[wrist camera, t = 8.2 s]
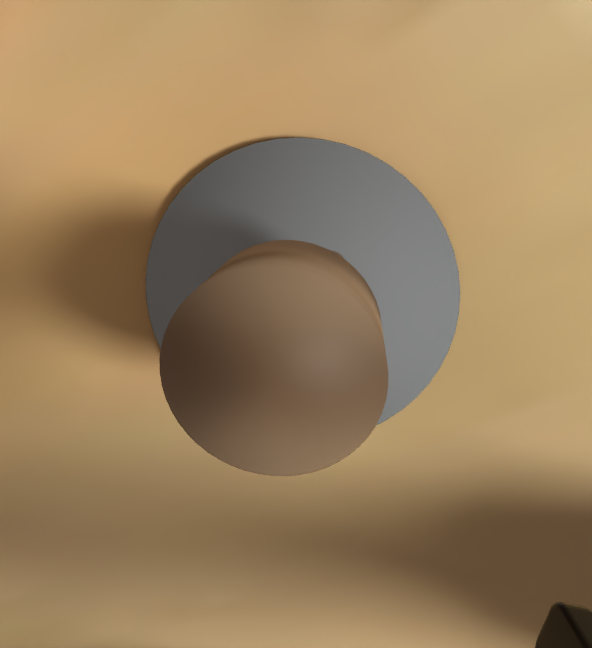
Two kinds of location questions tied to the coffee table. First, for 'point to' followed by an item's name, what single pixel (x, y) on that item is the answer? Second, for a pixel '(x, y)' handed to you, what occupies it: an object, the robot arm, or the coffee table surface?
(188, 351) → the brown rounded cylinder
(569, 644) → the robot arm
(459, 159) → the coffee table surface
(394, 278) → the felt mat
